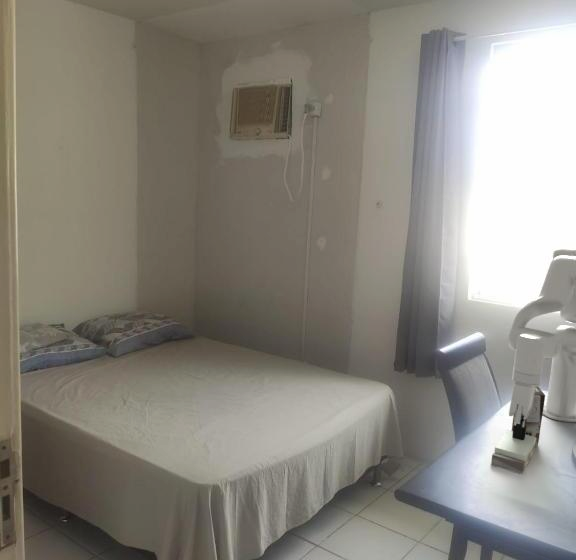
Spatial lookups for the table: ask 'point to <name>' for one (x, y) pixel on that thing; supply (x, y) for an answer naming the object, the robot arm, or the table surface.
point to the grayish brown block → (510, 462)
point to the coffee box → (535, 416)
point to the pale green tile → (515, 446)
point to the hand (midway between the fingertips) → (518, 438)
